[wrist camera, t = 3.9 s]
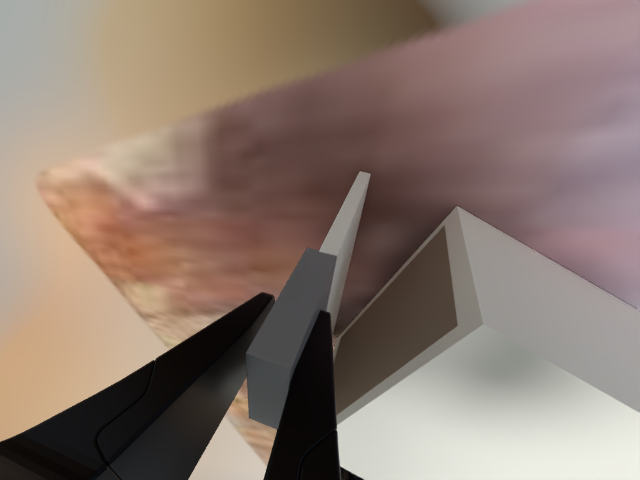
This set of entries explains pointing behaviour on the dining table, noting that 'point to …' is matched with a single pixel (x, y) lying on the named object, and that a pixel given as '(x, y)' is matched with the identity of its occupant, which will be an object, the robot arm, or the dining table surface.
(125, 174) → the dining table surface
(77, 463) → the robot arm
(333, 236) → the front flap
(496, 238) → the carton
